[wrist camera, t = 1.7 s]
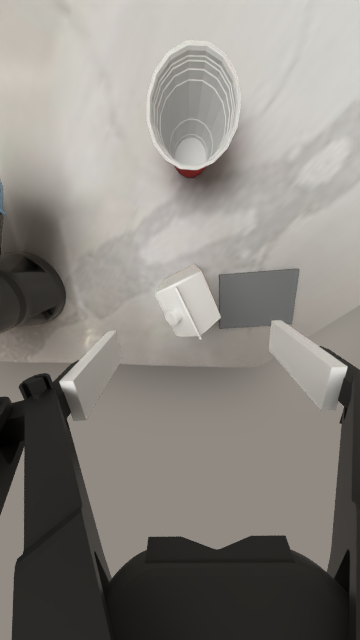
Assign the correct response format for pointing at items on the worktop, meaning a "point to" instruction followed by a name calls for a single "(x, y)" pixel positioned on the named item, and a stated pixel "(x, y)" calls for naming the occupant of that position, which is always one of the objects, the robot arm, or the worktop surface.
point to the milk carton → (187, 302)
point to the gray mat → (257, 298)
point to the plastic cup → (193, 106)
